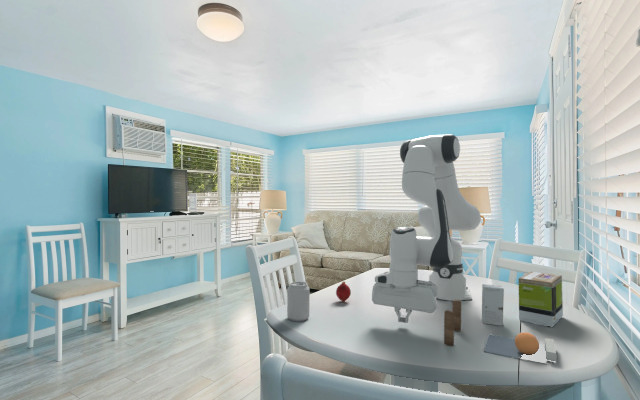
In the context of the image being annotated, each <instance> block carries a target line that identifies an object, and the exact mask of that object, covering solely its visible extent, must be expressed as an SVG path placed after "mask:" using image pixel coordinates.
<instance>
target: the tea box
mask: <svg viewBox="0 0 640 400" xmlns="http://www.w3.org/2000/svg"><path fill="white" fill-rule="evenodd" d="M563 303H564V302H563V275H560V274H552V273H544V272H536V271H534V272H533V271H530V272H528V273H527V274H526V273H525V274H524V275H522V276H520V277H519V278H518V320H519V322H520V321H521V322H524V321H525V323H529V322H530V324H533V323H535V324H534V325H538V324H539V326H542V325H544V326H543V327H547V326H550V327H549V328H553V327H554V326H555V325H557V323H558V322H559V321H560V320H561V319H562V318H563V317H564V311H563V310H564V307H563V305H564V304H563ZM562 316H563V317H562ZM561 317H562V318H561ZM560 318H561V319H560ZM559 319H560V320H559Z"/></svg>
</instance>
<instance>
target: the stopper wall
mask: <svg viewBox="0 0 640 400" xmlns="http://www.w3.org/2000/svg"><path fill="white" fill-rule="evenodd" d="M544 344H545V351H546V359H547V360H551V361H556V362H557V350H556V345H555V341H554V339H553V338H547V337H546V338H544Z"/></svg>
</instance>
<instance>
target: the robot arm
mask: <svg viewBox="0 0 640 400" xmlns="http://www.w3.org/2000/svg"><path fill="white" fill-rule="evenodd" d="M459 141H460V140H459V139H458V137H457V136H456V135H454V134H452V133H451V134H450V133H444V134H436V135H435V134H434V135H427V136H422V137H419V138H418V137H417V138H414V139H412V138H411V139H408V140H405V141H404V142H403V143H402V144H401V146H400V148H399V149H400V150H399V152H400V153H399V156H400V159H401V162H402V163H403V168H402V175H401V176H402V177H401V189H402V191H403V193H404V194H405V196H406V197H407V198H408V199H410V200H412V201H414V202H415V203H419V204H421V205H423V206H421V207H420V208H419V210H418V212H417V221H418V223H419V225H420V226H421V227H422V228H424V229H425V230H426V232H427V233H428V235H429V236H423V235H422V236H420V235H417V230H416V228H414V227H411V226H397V227H395V228H393V229H392V230H391V233H390V239H389V259H390V263H389V267H388V270H389V271H385V272H382V273H379V274H377V275H376V276H374V282H375V283H374V284H373V287H372V290H371V301H372V303H373V304H374V305H379V306H386V307H392V308H394V312H395V314H396V316H397V322H398V323H405V324H408V323H409V321H410V319H409V318H410V315H411V314H412V313H413V311H416V312H422V313H428V314H434V313H435V312H436V311H437V309H438V304H437V303H438V302H437V301H438V300H437V299H439V300H441V301H442V300H444V301H452V300H460V301H464V300H465V301H468V300H469V301H470V300H472V293H471V292H470V291H471V290H470V289H469V287H468V286H467V279H466V277H465V276H464V274H463V273H464V265H463V263H462V261H463V260H462V259H463V258H462V255H463V254H462V253H463V251H462V249H463V248H462V245H461V243H460V242H459V241H458V240H456V239H454V238H453V237H452V236H451V235H450V231H459V232H464V231H472V230H475V229H477V228H478V227H479V225H480V223H481V217H482V216H481V213H480V211H479V209H478V208H477V207H476V206H475V205H474V204H471V203H470V202H469V201H468V200H466V198H465V197H464V196H463V194H462V193H461V191H460V188H459V185H458V181H457V176H456V175H457V174H456V170H455V164H454V162H455V161H456V160H457V159H458V158H459V156H460V152H461V145H460V142H459ZM418 266H422V267H423V266H425V267H431V268H432V272H431V273H430V274H429V276H428V281H427V280H420V279H419V270H418V269H419V268H418ZM402 309H403V310H405V313H406V315H403V314H402V313H401V310H402Z"/></svg>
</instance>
